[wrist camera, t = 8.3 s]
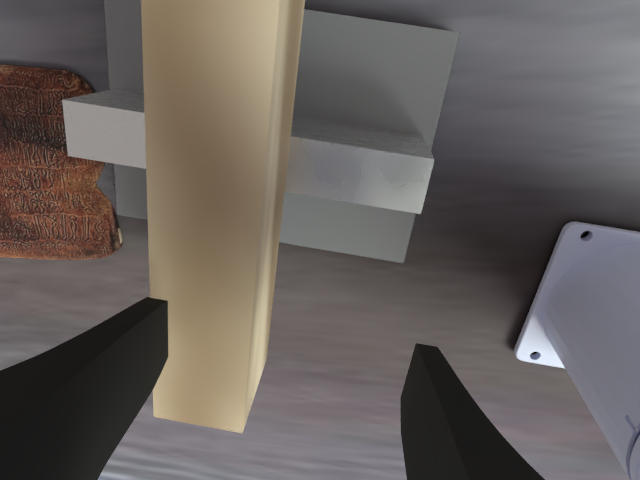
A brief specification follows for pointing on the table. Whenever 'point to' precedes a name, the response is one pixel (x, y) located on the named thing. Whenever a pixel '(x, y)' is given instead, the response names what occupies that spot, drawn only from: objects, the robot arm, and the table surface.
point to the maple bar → (216, 192)
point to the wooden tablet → (48, 173)
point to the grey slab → (324, 113)
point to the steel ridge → (303, 160)
